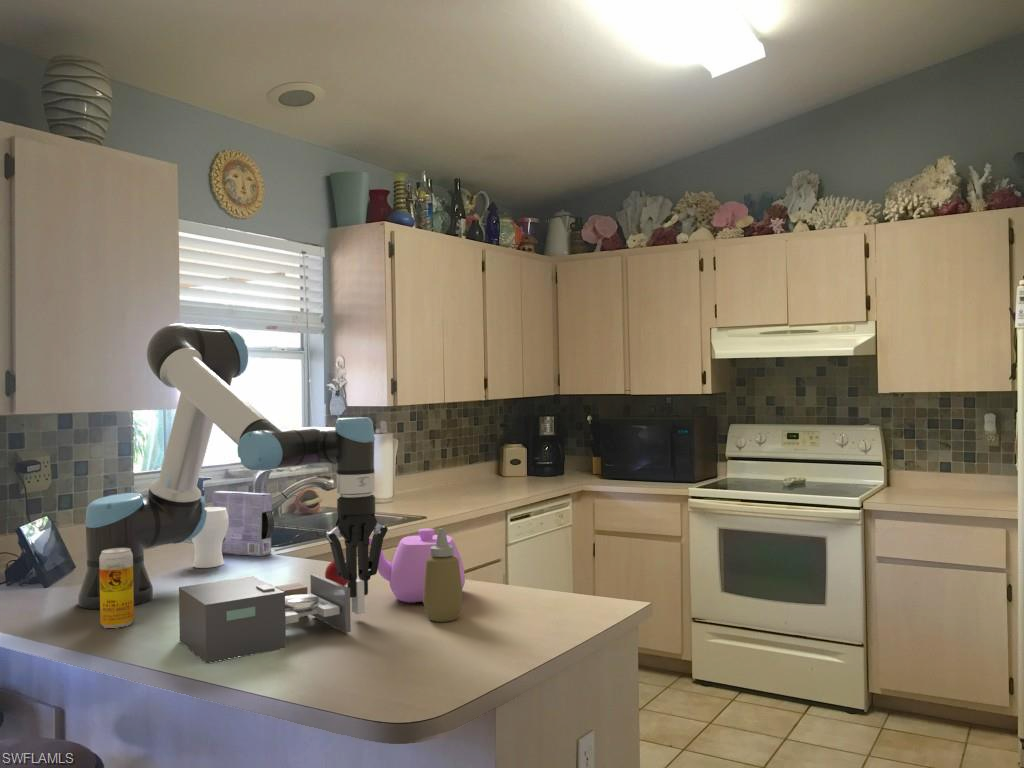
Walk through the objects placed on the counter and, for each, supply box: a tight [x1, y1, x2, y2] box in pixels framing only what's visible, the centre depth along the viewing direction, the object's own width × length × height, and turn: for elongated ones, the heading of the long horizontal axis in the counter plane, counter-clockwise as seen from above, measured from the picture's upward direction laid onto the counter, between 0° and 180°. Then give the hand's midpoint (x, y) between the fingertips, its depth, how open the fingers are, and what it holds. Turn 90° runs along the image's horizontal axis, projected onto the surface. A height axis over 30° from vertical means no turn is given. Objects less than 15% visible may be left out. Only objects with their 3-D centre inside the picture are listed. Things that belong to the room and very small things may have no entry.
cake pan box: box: [212, 490, 275, 557], centre depth 245 cm, size 19×5×18 cm, turn 68°
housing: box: [178, 576, 287, 664], centre depth 156 cm, size 17×14×10 cm
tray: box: [285, 573, 352, 633], centre depth 163 cm, size 17×14×8 cm
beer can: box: [99, 548, 135, 629], centre depth 171 cm, size 6×6×15 cm
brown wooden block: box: [274, 582, 309, 618], centre depth 175 cm, size 5×5×6 cm
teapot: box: [369, 527, 466, 604], centre depth 190 cm, size 23×21×15 cm
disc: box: [285, 594, 319, 613], centre depth 163 cm, size 8×8×2 cm
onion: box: [324, 560, 348, 587], centre depth 197 cm, size 6×6×8 cm
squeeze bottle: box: [422, 527, 464, 623], centre depth 171 cm, size 8×8×18 cm
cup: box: [190, 506, 229, 569], centre depth 229 cm, size 11×11×15 cm
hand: (358, 612), depth 171 cm, fingers closed
